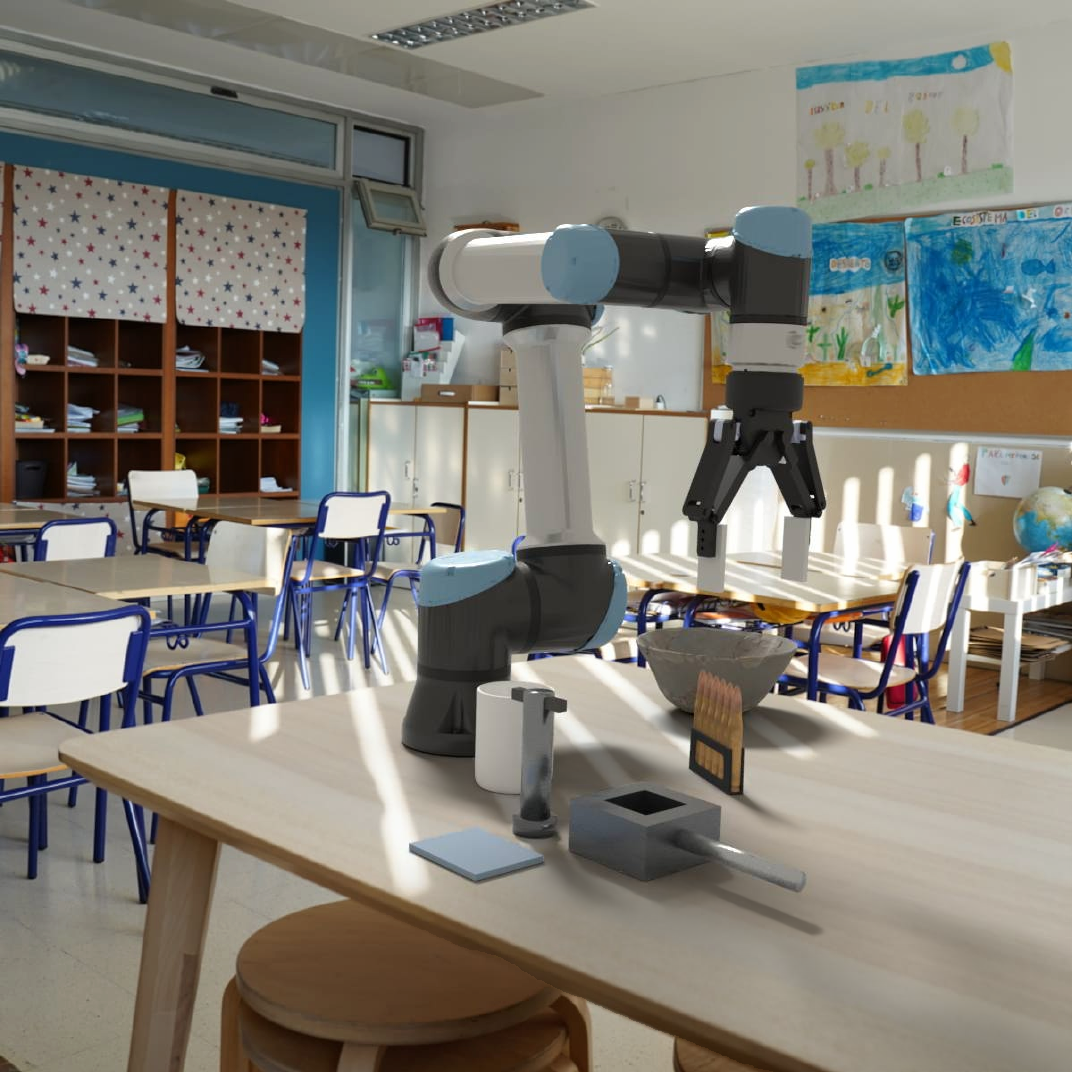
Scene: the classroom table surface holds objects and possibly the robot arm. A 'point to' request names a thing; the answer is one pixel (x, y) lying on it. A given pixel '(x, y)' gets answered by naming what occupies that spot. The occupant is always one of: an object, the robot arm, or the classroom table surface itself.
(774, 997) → the classroom table surface
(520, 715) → the mug
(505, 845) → the mat
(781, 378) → the robot arm
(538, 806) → the key
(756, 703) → the ceramic bowl
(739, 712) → the ammunition clip
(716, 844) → the block
